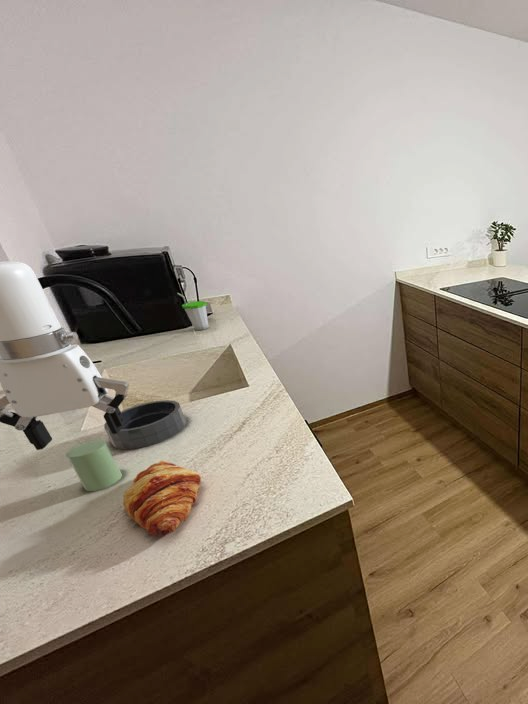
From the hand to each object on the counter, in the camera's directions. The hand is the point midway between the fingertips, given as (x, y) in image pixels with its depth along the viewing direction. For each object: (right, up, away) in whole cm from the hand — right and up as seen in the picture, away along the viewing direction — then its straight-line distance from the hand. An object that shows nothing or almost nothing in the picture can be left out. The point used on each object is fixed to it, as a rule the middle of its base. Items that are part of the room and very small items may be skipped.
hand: (83, 437), depth 64 cm
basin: (-4, -3, +19) cm, 19 cm away
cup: (-43, +26, +86) cm, 100 cm away
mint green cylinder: (0, -9, +4) cm, 10 cm away
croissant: (+15, -11, 0) cm, 19 cm away
